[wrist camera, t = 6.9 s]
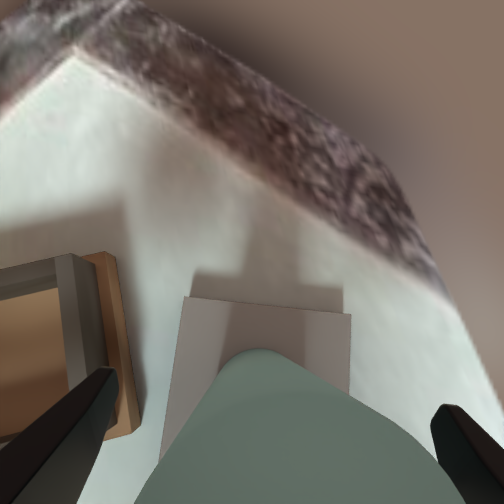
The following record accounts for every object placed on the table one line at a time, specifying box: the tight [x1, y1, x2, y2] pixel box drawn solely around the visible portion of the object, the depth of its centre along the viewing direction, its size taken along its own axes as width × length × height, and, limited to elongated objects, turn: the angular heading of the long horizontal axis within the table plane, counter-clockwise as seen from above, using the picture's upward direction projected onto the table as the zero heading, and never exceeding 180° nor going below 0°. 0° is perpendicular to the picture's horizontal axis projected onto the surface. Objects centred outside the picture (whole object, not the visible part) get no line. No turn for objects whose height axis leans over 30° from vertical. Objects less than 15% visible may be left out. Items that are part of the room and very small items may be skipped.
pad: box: [158, 296, 351, 463], centre depth 17 cm, size 9×9×2 cm
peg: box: [134, 348, 466, 504], centre depth 10 cm, size 5×5×13 cm
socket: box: [0, 251, 141, 449], centre depth 16 cm, size 9×9×4 cm
